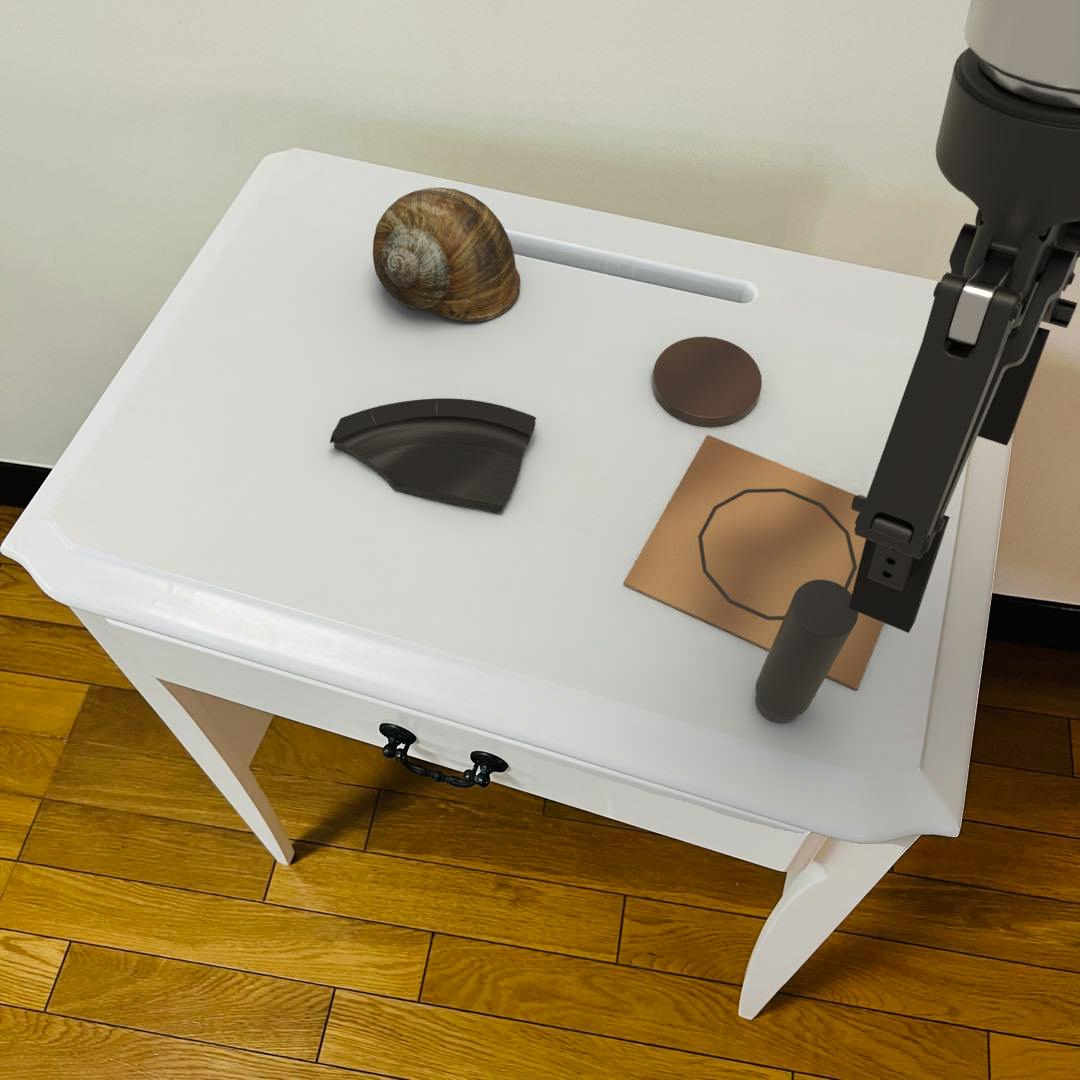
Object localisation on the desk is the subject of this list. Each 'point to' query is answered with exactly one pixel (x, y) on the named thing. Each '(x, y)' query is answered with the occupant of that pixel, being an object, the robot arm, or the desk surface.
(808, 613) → the dot marker
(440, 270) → the seashell
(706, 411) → the coaster
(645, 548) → the paper sheet
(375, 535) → the desk surface
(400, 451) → the curved wedge
